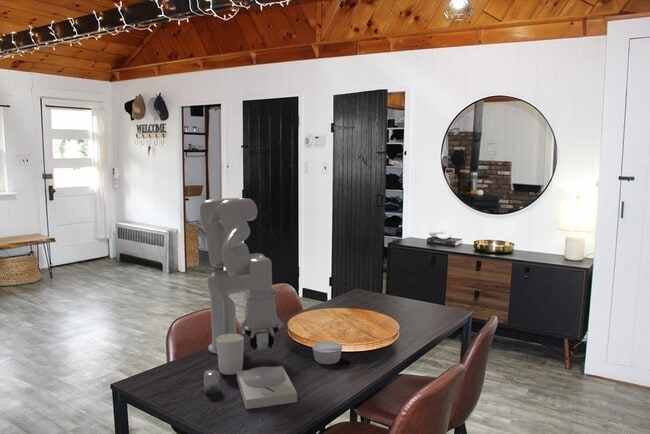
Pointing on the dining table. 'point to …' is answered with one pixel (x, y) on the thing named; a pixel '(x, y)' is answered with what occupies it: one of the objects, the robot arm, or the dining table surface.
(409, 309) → the dining table surface
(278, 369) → the scale
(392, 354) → the dining table surface
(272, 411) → the dining table surface
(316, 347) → the ramekin
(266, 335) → the disc
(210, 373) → the cylinder
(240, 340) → the candle holder
